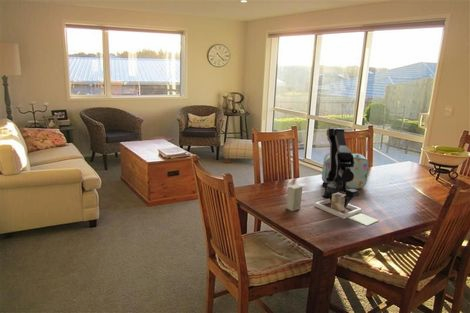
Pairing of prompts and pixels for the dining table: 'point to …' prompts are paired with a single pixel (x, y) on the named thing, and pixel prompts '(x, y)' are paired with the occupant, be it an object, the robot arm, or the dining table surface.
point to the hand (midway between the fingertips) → (338, 204)
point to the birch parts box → (338, 202)
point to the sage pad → (363, 219)
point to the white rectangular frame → (355, 211)
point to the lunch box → (358, 170)
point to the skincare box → (294, 197)
